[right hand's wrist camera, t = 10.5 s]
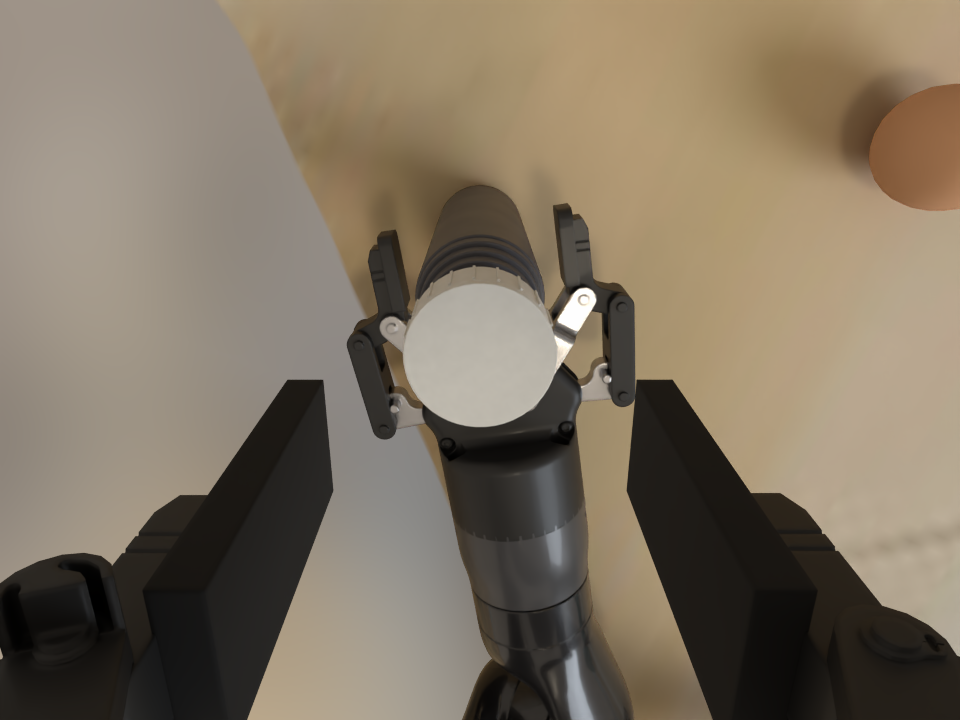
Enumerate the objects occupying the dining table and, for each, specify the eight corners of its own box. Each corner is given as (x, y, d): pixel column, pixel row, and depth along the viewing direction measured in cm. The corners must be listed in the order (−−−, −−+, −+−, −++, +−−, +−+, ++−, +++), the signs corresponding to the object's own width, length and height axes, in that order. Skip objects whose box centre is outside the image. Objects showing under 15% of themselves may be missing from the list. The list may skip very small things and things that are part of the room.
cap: (379, 342, 21) (369, 366, 19) (471, 234, 20) (470, 248, 18) (487, 425, 22) (487, 456, 20) (581, 327, 21) (591, 350, 19)
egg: (965, 82, 36) (1092, 77, 28) (943, 197, 38) (1056, 220, 30) (852, 88, 36) (948, 85, 28) (836, 202, 38) (922, 227, 31)
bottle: (421, 232, 39) (364, 362, 20) (475, 167, 37) (470, 237, 18) (484, 284, 40) (488, 455, 21) (538, 223, 39) (597, 345, 19)
